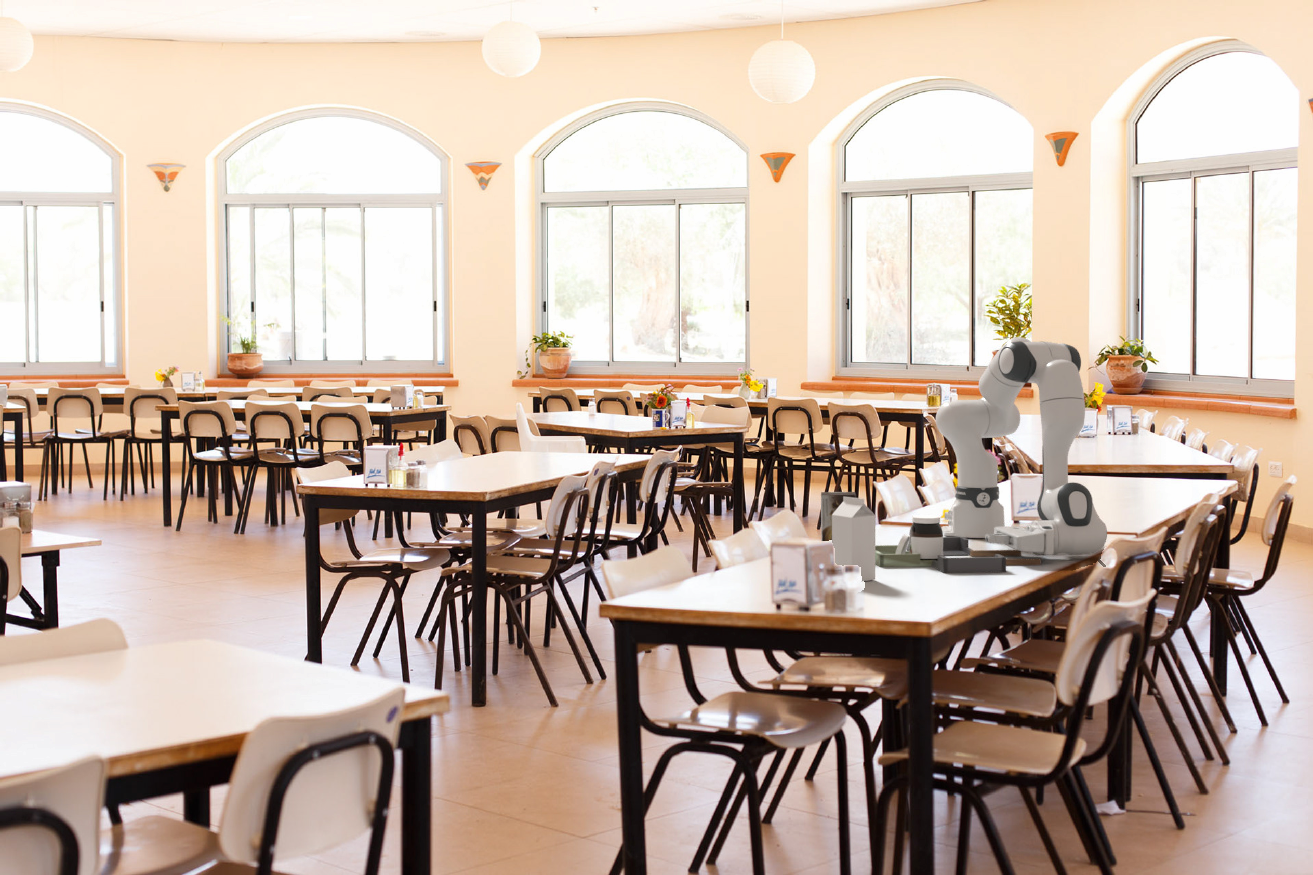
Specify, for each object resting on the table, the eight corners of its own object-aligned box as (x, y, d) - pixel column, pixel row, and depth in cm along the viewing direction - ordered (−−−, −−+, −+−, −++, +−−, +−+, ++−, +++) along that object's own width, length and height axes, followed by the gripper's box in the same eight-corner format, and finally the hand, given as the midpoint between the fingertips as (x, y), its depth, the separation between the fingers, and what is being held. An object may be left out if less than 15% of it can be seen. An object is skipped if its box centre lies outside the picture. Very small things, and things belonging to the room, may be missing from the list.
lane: (866, 557, 338) (866, 545, 338) (1019, 555, 340) (1019, 543, 340) (879, 566, 322) (879, 554, 322) (1040, 564, 324) (1040, 552, 324)
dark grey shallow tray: (932, 566, 323) (932, 551, 323) (992, 565, 324) (992, 551, 323) (943, 572, 312) (943, 558, 312) (1005, 572, 313) (1006, 557, 313)
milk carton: (851, 583, 299) (851, 500, 298) (831, 579, 305) (831, 497, 304) (875, 580, 303) (875, 498, 302) (855, 576, 309) (855, 495, 308)
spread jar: (946, 566, 323) (946, 518, 323) (900, 566, 323) (901, 519, 322) (934, 558, 335) (934, 513, 335) (890, 559, 335) (890, 513, 334)
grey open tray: (906, 550, 349) (906, 537, 349) (962, 549, 350) (962, 536, 350) (916, 556, 339) (916, 542, 339) (973, 555, 340) (973, 542, 339)
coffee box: (855, 552, 347) (855, 491, 346) (856, 556, 340) (857, 493, 339) (820, 552, 348) (820, 491, 347) (821, 555, 341) (821, 493, 340)
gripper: (1027, 520, 342) (975, 521, 342) (1055, 530, 322) (999, 531, 321) (1027, 544, 343) (974, 545, 342) (1054, 556, 322) (999, 556, 321)
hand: (986, 538), depth 331 cm, fingers closed
